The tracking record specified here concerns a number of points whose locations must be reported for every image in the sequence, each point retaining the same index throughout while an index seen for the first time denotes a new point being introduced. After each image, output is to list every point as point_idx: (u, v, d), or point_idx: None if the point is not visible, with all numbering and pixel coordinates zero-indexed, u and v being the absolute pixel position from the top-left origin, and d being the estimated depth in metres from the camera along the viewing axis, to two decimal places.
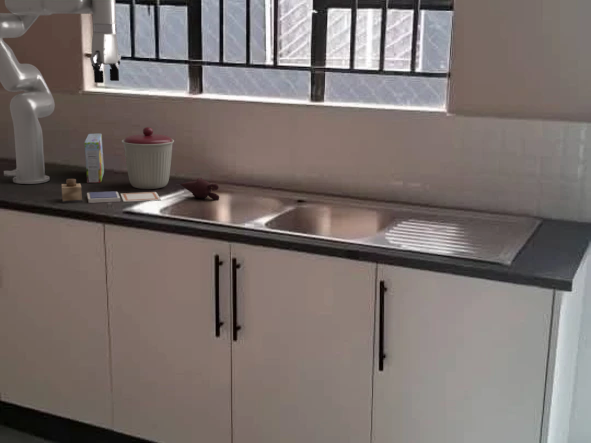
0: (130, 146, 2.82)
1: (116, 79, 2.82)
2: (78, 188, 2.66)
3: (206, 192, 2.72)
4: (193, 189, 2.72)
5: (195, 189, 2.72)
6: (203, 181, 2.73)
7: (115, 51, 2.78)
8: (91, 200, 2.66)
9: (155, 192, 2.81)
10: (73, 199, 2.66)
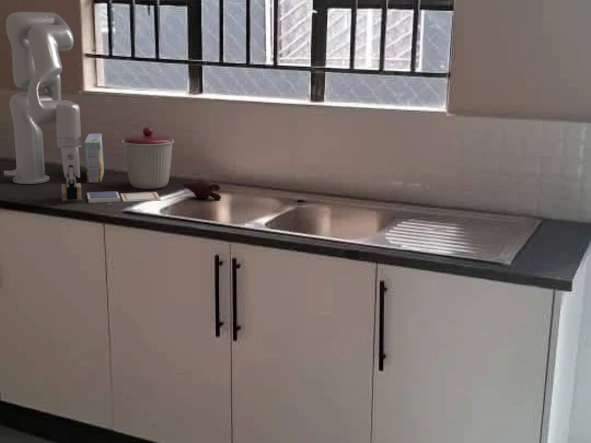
0: (130, 146, 2.82)
1: None
2: (78, 188, 2.66)
3: (208, 192, 2.72)
4: (195, 189, 2.72)
5: (197, 189, 2.72)
6: (205, 181, 2.73)
7: None
8: (91, 200, 2.66)
9: (155, 192, 2.81)
10: (73, 199, 2.66)
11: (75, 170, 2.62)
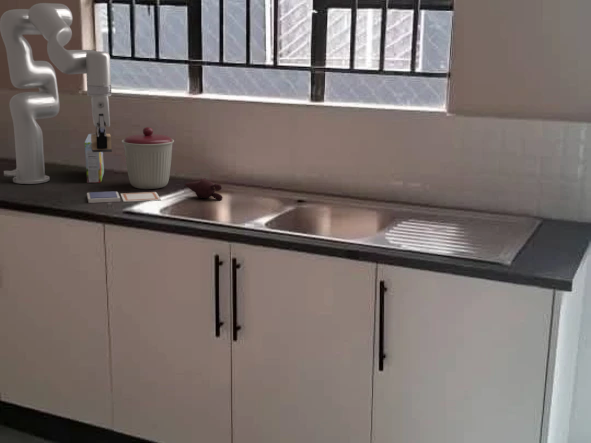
0: (130, 146, 2.82)
1: None
2: (108, 137, 2.65)
3: (209, 192, 2.72)
4: (196, 189, 2.72)
5: (198, 189, 2.72)
6: (206, 181, 2.73)
7: (93, 114, 2.62)
8: (91, 200, 2.66)
9: (155, 192, 2.81)
10: None
11: (105, 118, 2.61)
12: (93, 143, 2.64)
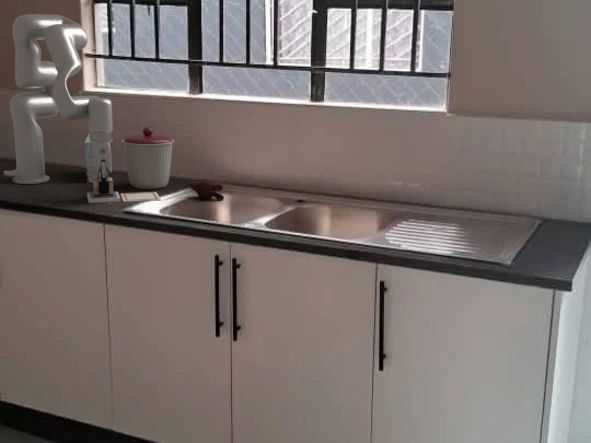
0: (130, 146, 2.82)
1: None
2: (110, 182, 2.68)
3: (211, 192, 2.72)
4: (198, 189, 2.72)
5: (200, 189, 2.72)
6: (208, 181, 2.73)
7: (95, 159, 2.66)
8: (91, 200, 2.66)
9: (155, 192, 2.81)
10: None
11: (107, 164, 2.64)
12: (95, 188, 2.67)
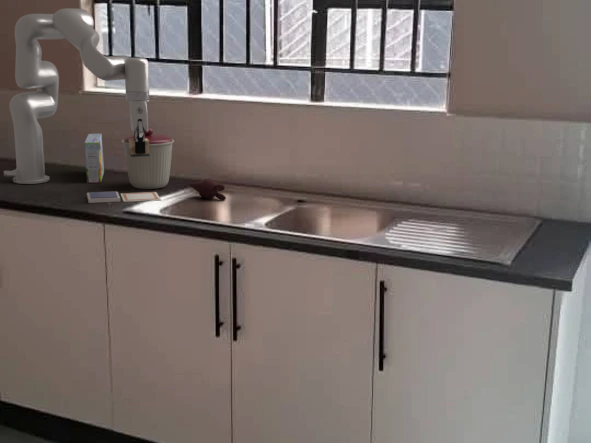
0: None
1: None
2: (146, 142, 2.68)
3: (212, 192, 2.72)
4: (200, 189, 2.72)
5: (202, 189, 2.72)
6: (210, 181, 2.73)
7: (131, 119, 2.66)
8: (91, 200, 2.66)
9: (155, 192, 2.81)
10: None
11: (144, 123, 2.65)
12: (131, 148, 2.67)
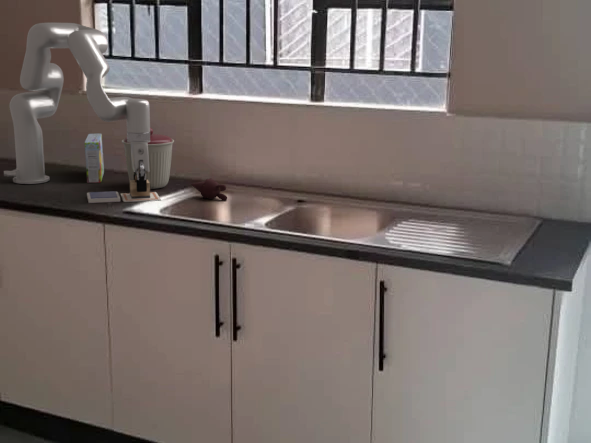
0: (130, 146, 2.82)
1: None
2: (147, 184, 2.72)
3: (214, 192, 2.71)
4: (201, 189, 2.72)
5: (203, 189, 2.72)
6: (212, 181, 2.73)
7: (132, 160, 2.69)
8: (91, 200, 2.66)
9: (155, 192, 2.81)
10: (142, 195, 2.72)
11: (145, 164, 2.68)
12: (132, 190, 2.71)
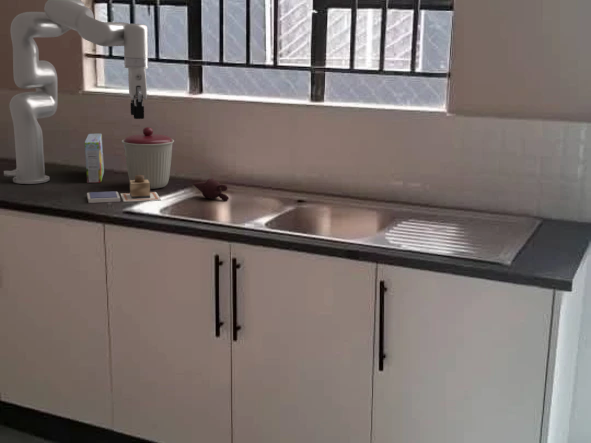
0: (130, 146, 2.82)
1: None
2: (147, 184, 2.72)
3: (215, 193, 2.71)
4: (203, 189, 2.72)
5: (205, 189, 2.72)
6: (213, 181, 2.73)
7: (130, 86, 2.63)
8: (91, 200, 2.66)
9: (155, 192, 2.81)
10: (142, 195, 2.72)
11: (142, 90, 2.62)
12: (132, 190, 2.71)
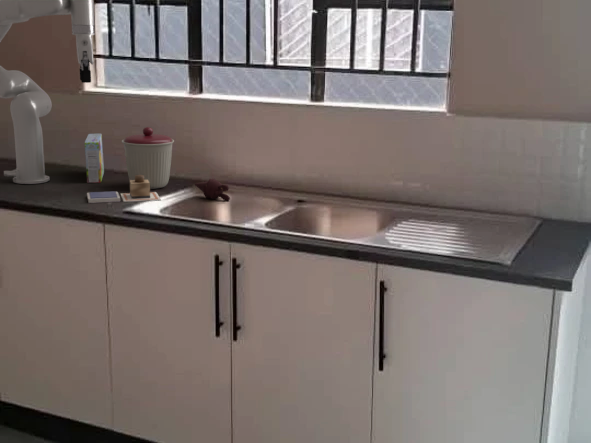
0: (130, 146, 2.82)
1: None
2: (147, 184, 2.72)
3: (216, 193, 2.71)
4: (204, 189, 2.72)
5: (206, 189, 2.72)
6: (214, 182, 2.73)
7: (77, 52, 2.80)
8: (91, 200, 2.66)
9: (155, 192, 2.81)
10: (142, 195, 2.72)
11: (89, 55, 2.79)
12: (132, 190, 2.71)
